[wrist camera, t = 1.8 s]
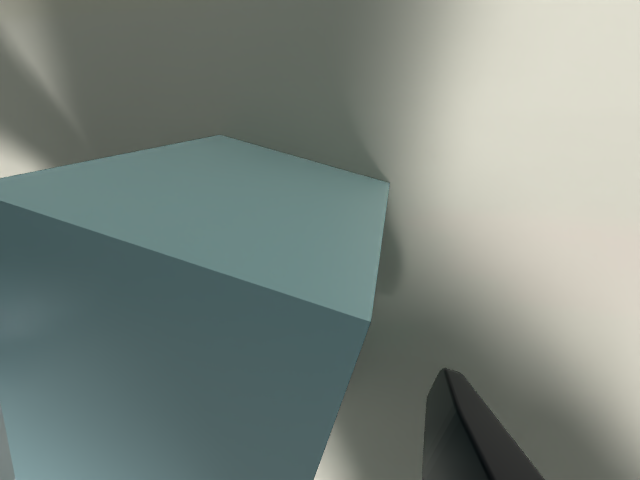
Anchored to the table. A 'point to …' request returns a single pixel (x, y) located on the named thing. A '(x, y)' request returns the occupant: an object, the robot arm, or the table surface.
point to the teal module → (183, 311)
